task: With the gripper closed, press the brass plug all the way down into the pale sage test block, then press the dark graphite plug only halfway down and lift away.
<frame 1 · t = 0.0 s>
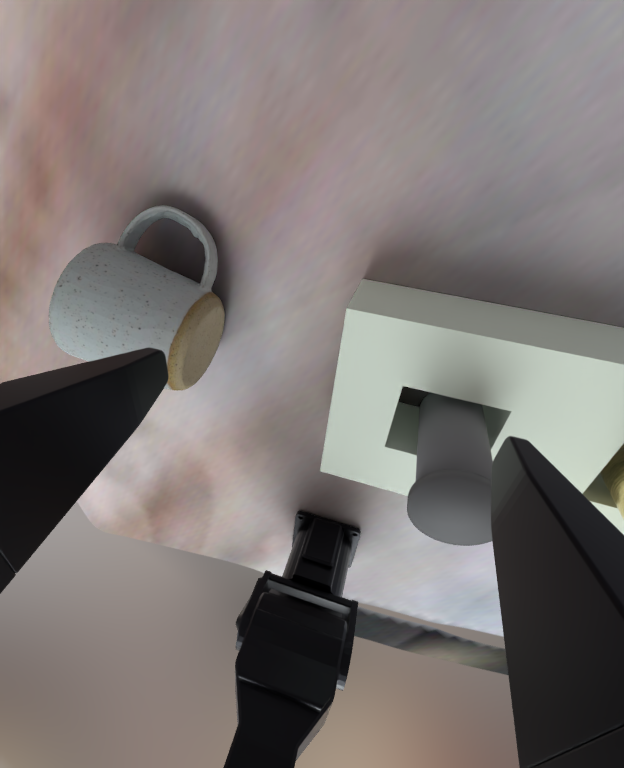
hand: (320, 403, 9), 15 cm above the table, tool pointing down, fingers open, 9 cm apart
test block: (527, 403, 23), on the table
ceramic mug: (180, 284, 26), on the table
graphite plug: (453, 454, 19), point 7 cm above the table, slide at 0.0 cm
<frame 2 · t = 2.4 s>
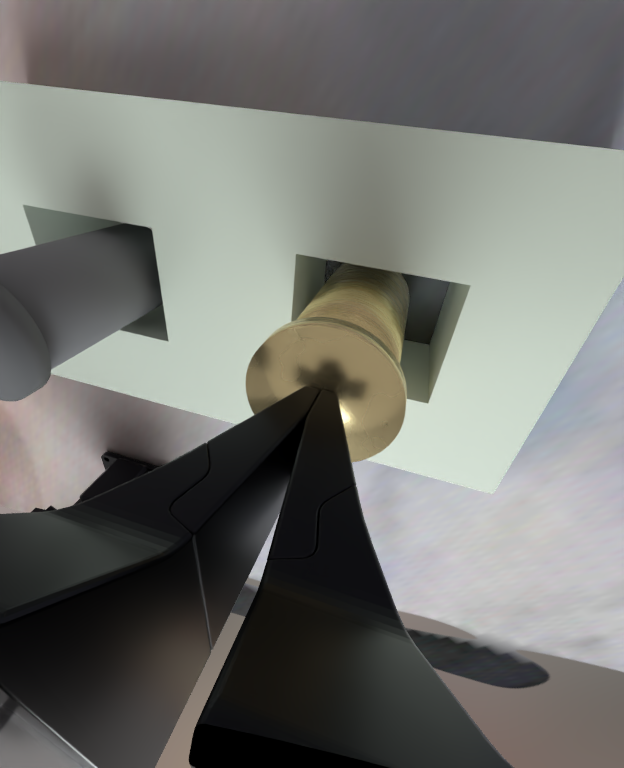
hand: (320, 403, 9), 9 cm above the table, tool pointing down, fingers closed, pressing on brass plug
brass plug: (349, 338, 12), point 6 cm above the table, slide at 1.1 cm, touching gripper
test block: (271, 267, 18), on the table
graphite plug: (74, 294, 13), point 7 cm above the table, slide at 0.0 cm
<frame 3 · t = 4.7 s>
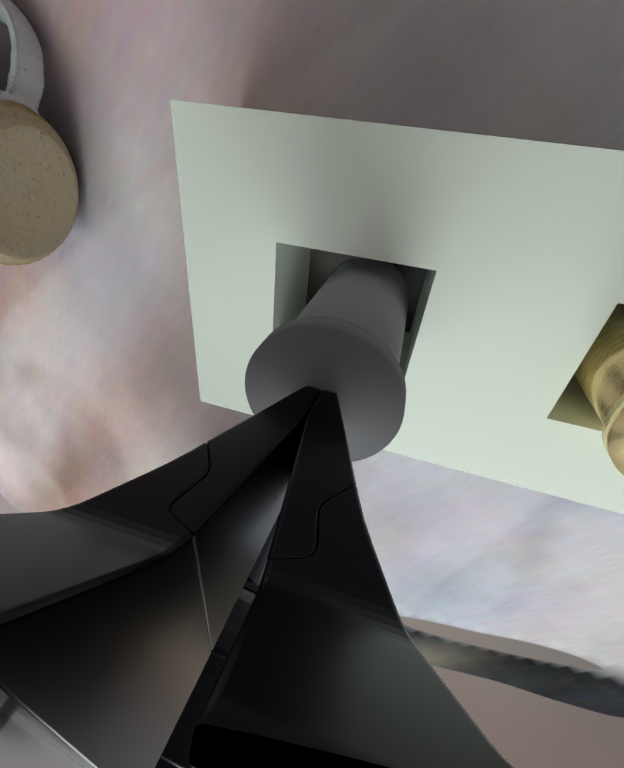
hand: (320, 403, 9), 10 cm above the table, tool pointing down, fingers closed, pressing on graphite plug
test block: (480, 300, 17), on the table
ceramic mug: (17, 128, 19), on the table
graphite plug: (348, 338, 12), point 7 cm above the table, slide at 0.3 cm, touching gripper
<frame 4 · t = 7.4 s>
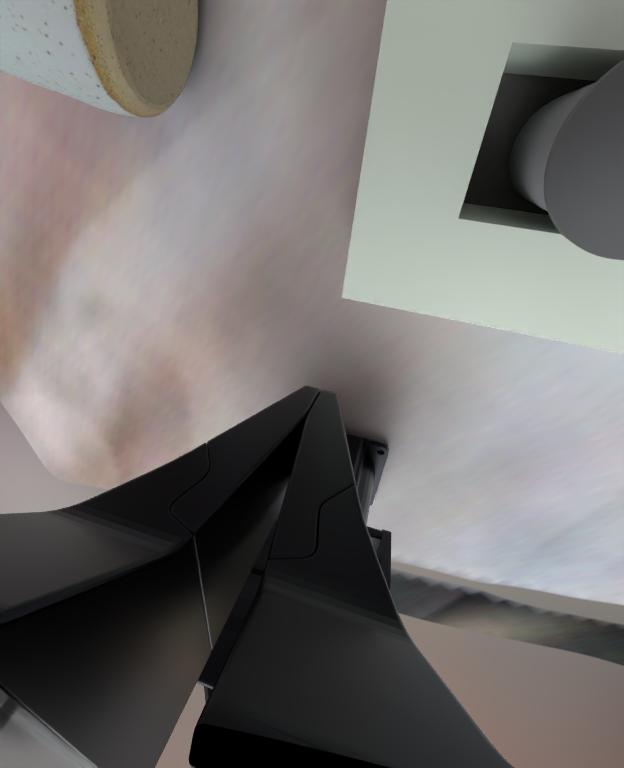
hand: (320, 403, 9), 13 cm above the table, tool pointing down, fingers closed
graphite plug: (599, 153, 11), point 5 cm above the table, slide at 1.4 cm
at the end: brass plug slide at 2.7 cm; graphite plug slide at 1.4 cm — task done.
